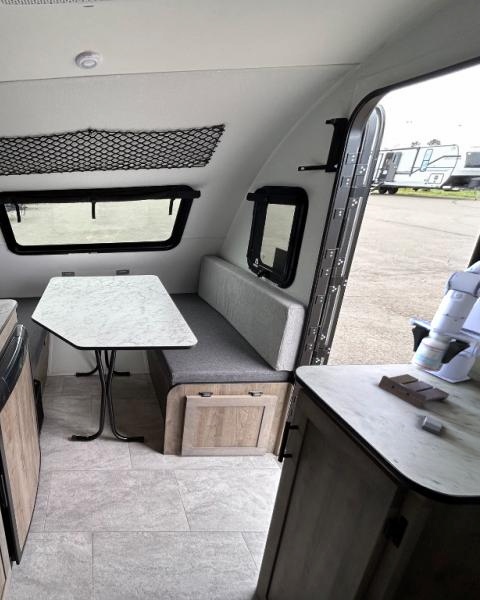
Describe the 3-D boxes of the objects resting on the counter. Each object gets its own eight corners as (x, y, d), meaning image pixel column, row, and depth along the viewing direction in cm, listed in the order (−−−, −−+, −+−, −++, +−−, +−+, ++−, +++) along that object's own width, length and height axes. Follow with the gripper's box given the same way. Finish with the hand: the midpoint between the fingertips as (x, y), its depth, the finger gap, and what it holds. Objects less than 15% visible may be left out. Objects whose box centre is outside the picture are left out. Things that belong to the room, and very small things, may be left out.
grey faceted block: (423, 417, 84) (427, 411, 84) (439, 424, 82) (443, 417, 81) (421, 428, 81) (424, 421, 80) (438, 435, 79) (442, 428, 78)
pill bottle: (426, 362, 98) (443, 329, 94) (445, 373, 93) (464, 339, 89) (405, 360, 99) (421, 327, 95) (423, 371, 93) (440, 337, 89)
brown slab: (403, 380, 100) (408, 370, 99) (445, 401, 92) (451, 390, 90) (377, 386, 97) (382, 375, 96) (418, 408, 88) (424, 397, 87)
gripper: (411, 305, 95) (392, 346, 100) (480, 327, 82) (454, 372, 87) (426, 304, 97) (407, 343, 102) (495, 324, 84) (469, 369, 89)
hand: (429, 356), depth 95 cm, fingers closed on pill bottle, 6 cm apart
